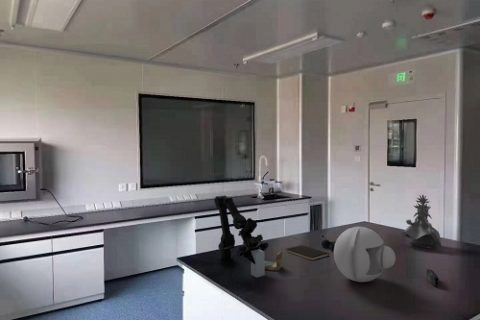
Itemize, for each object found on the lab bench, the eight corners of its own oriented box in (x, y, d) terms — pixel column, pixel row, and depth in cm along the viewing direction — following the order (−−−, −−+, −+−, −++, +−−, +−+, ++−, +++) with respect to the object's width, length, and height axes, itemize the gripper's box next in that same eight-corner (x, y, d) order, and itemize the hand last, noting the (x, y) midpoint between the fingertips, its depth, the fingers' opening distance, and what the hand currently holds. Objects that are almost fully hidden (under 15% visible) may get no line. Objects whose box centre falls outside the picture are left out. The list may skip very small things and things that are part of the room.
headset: (317, 233, 243) (339, 233, 251) (316, 247, 243) (338, 246, 251) (329, 237, 231) (352, 237, 239) (328, 252, 231) (351, 251, 239)
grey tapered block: (251, 274, 194) (250, 251, 193) (259, 272, 197) (259, 249, 196) (256, 277, 190) (256, 253, 189) (264, 275, 193) (264, 251, 192)
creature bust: (442, 244, 248) (443, 194, 246) (440, 253, 228) (441, 198, 227) (405, 239, 261) (405, 192, 259) (400, 247, 241) (400, 196, 240)
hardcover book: (311, 261, 217) (311, 257, 217) (285, 252, 235) (285, 248, 235) (329, 256, 226) (329, 252, 226) (302, 248, 245) (302, 244, 245)
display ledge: (258, 268, 204) (258, 252, 203) (262, 263, 211) (262, 248, 211) (278, 270, 199) (278, 254, 199) (282, 266, 207) (282, 250, 206)
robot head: (390, 297, 163) (390, 237, 162) (326, 284, 179) (326, 230, 178) (399, 277, 187) (400, 225, 186) (342, 267, 203) (342, 219, 202)
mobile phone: (425, 268, 188) (434, 278, 173) (431, 268, 187) (441, 278, 172) (425, 277, 188) (434, 288, 173) (431, 278, 187) (441, 288, 173)
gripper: (238, 232, 191) (250, 258, 182) (266, 227, 201) (279, 251, 192) (231, 243, 197) (242, 269, 189) (258, 238, 208) (270, 262, 199)
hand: (259, 262), depth 192 cm, fingers closed on grey tapered block, 5 cm apart
